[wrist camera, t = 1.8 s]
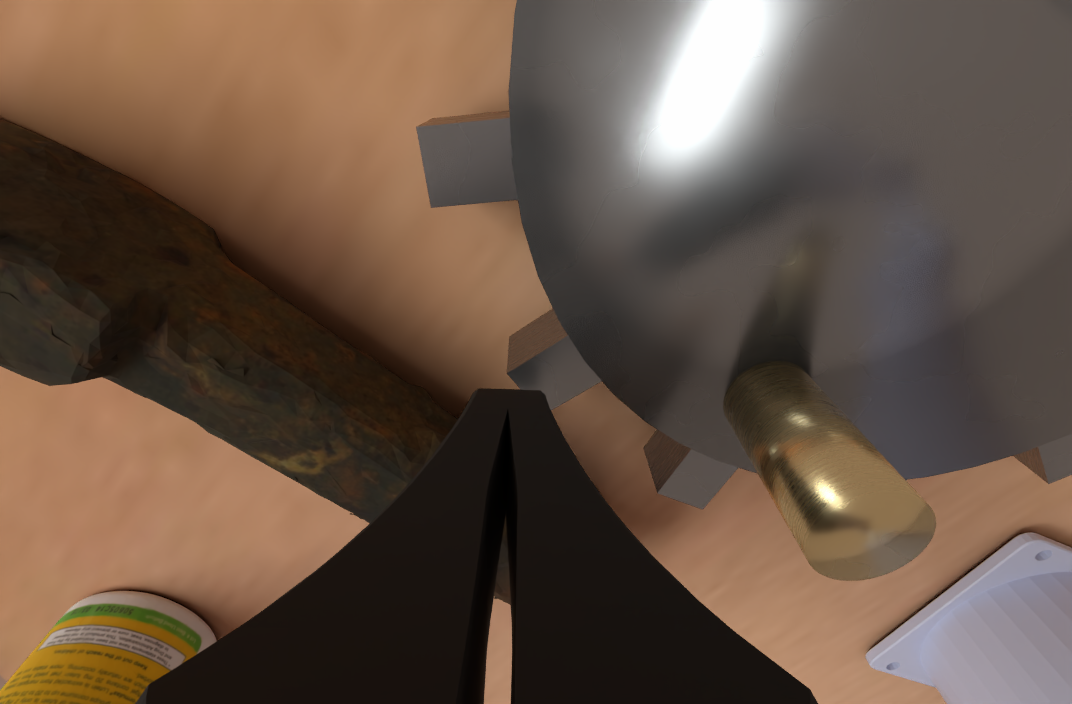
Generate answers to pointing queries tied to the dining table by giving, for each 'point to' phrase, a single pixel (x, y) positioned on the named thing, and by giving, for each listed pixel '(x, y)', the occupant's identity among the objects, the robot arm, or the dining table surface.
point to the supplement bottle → (108, 651)
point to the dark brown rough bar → (195, 332)
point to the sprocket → (795, 242)
